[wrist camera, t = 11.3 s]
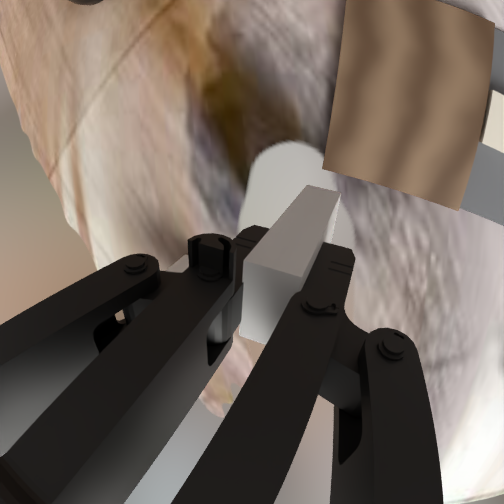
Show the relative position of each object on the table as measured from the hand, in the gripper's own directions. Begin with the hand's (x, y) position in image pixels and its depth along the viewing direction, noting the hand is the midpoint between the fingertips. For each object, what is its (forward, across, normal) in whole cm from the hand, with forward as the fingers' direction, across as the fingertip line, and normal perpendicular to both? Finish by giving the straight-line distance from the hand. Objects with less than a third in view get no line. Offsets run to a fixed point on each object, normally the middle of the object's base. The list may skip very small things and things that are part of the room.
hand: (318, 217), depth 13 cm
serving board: (+23, +5, +7) cm, 24 cm away
